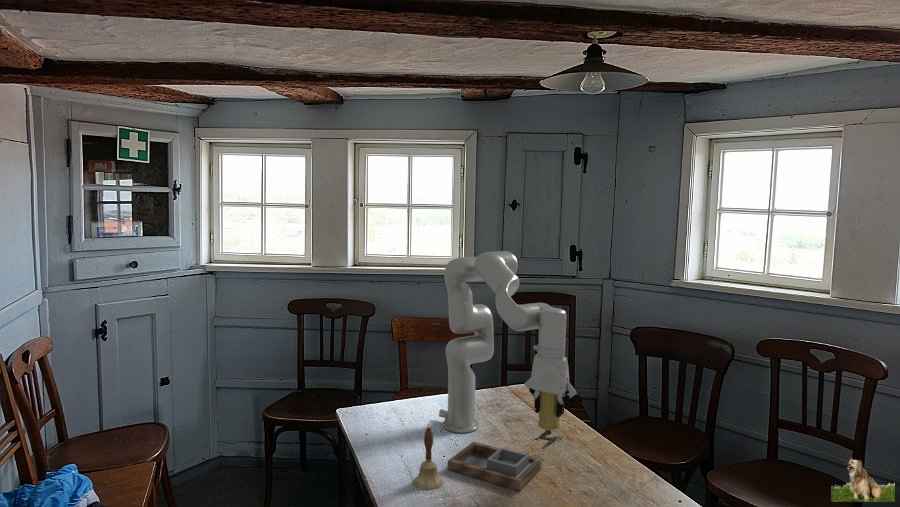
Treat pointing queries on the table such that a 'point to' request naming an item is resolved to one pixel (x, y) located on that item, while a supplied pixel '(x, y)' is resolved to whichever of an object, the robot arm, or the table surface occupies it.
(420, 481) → the hand bell
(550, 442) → the hacksaw
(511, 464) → the square serving tray
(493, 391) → the table surface
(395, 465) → the table surface
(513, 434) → the table surface
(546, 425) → the vase
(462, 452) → the open wooden box
